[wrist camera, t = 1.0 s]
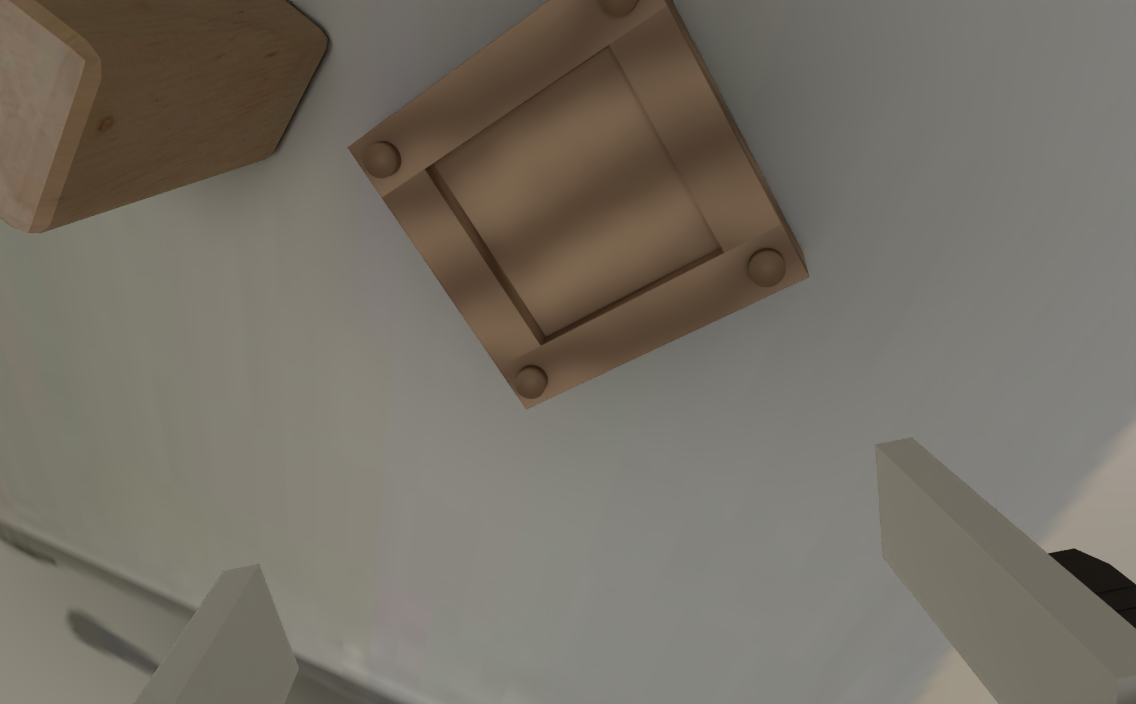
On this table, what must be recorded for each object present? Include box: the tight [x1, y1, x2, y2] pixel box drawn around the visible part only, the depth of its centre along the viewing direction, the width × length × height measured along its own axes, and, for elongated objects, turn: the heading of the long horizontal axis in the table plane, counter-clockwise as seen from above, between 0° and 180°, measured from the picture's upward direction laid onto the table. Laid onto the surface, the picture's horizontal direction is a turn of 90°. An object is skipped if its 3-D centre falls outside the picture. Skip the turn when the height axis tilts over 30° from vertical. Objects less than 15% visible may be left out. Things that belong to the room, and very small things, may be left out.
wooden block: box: [0, 0, 328, 233], centre depth 39 cm, size 10×10×20 cm
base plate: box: [348, 0, 809, 409], centre depth 44 cm, size 20×20×6 cm
